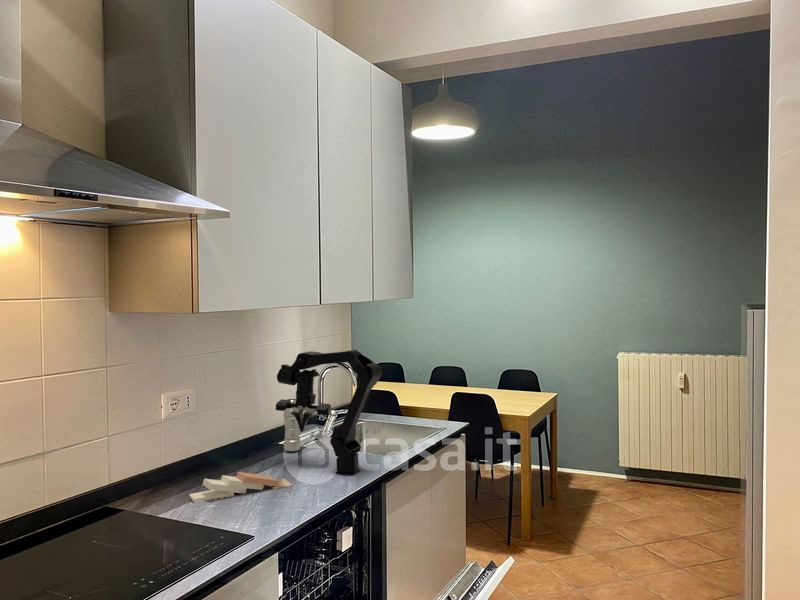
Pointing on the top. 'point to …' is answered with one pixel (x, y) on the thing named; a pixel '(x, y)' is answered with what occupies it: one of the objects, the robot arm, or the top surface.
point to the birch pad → (282, 484)
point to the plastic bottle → (291, 430)
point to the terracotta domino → (257, 479)
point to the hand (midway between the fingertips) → (302, 431)
